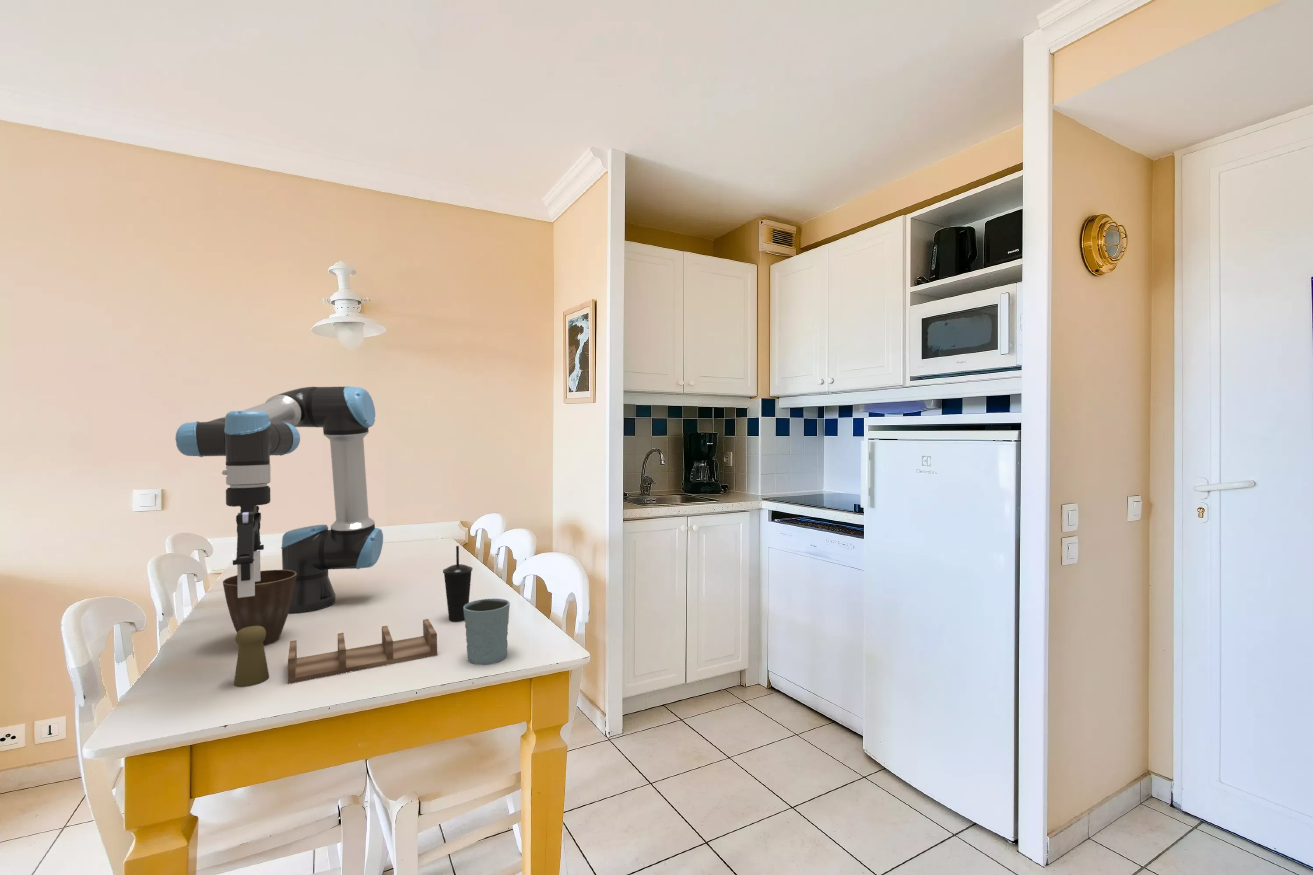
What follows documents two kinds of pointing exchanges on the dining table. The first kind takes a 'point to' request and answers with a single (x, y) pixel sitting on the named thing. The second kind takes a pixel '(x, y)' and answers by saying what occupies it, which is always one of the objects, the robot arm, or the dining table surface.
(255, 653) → the olive peg figure
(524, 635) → the dining table surface
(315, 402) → the robot arm
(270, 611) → the plant pot
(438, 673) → the dining table surface
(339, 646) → the spice rack
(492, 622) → the grey-green tumbler
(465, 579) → the drinking cup
